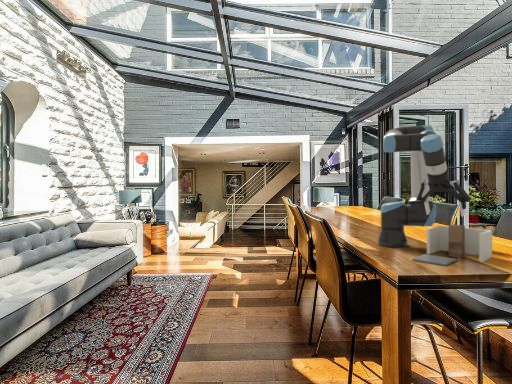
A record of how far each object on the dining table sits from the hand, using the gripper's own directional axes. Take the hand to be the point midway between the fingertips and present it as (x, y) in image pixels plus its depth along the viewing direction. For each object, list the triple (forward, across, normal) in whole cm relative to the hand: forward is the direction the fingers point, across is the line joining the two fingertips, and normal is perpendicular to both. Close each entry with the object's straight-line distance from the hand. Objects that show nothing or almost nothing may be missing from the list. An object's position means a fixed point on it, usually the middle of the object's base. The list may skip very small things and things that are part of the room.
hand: (445, 213), depth 140 cm
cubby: (+24, +2, +1) cm, 24 cm away
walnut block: (+23, +2, 0) cm, 23 cm away
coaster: (+15, -3, -14) cm, 21 cm away
